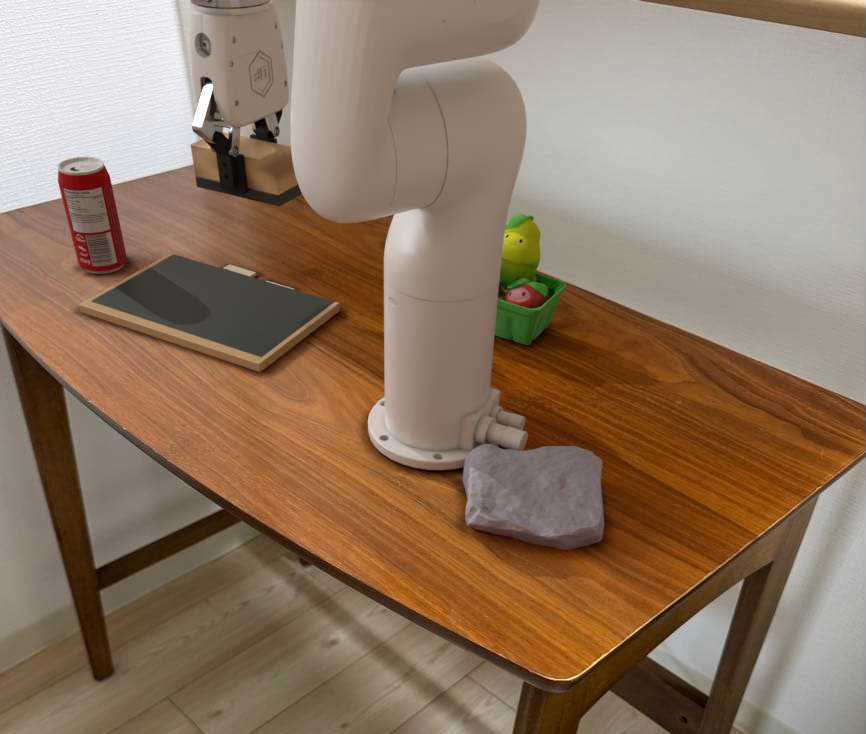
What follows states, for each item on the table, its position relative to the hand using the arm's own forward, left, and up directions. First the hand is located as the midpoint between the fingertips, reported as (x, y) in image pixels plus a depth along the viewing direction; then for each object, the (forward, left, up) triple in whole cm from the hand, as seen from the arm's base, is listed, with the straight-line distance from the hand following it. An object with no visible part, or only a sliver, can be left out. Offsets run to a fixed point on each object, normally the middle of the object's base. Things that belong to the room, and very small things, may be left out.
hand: (250, 181), depth 98 cm
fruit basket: (-29, -6, -12) cm, 31 cm away
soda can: (+18, +6, -12) cm, 23 cm away
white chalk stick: (-3, 0, -12) cm, 12 cm away
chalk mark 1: (+4, -1, -11) cm, 12 cm away
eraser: (0, 0, -1) cm, 1 cm away
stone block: (-44, +23, -12) cm, 51 cm away
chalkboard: (0, +9, -12) cm, 15 cm away
